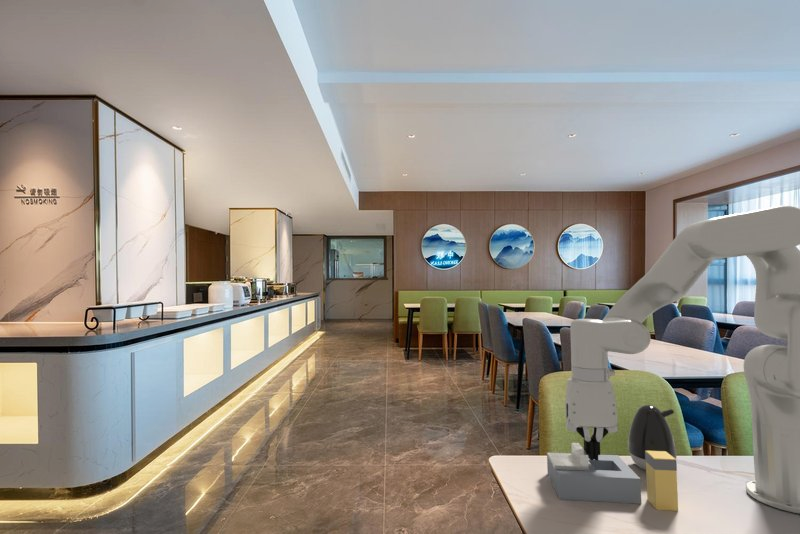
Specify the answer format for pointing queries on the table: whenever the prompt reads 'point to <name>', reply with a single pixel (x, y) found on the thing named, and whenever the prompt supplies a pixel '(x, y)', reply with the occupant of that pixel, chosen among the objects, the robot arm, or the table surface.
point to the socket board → (598, 481)
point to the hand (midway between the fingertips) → (592, 457)
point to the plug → (661, 480)
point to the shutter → (570, 459)
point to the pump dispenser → (650, 434)
